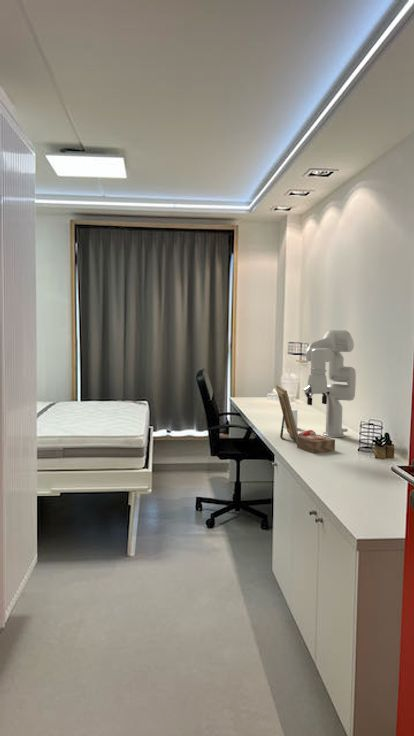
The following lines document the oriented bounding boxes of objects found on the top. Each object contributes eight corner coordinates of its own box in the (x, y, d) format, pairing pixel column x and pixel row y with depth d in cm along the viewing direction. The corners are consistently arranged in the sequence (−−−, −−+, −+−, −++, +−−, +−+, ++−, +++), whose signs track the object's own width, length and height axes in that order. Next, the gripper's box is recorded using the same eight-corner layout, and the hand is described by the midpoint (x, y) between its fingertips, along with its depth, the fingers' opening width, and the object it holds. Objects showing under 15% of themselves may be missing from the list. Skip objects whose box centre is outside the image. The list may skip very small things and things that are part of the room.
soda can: (303, 436, 304) (292, 440, 294) (310, 426, 301) (299, 430, 291) (313, 444, 301) (302, 449, 291) (319, 435, 298) (309, 439, 288)
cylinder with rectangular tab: (299, 427, 344) (300, 409, 343) (292, 429, 338) (292, 410, 337) (288, 425, 350) (288, 407, 350) (280, 427, 344) (280, 409, 343)
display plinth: (317, 445, 293) (318, 433, 292) (334, 450, 280) (335, 438, 280) (297, 447, 287) (297, 436, 286) (313, 453, 274) (313, 441, 274)
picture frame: (300, 444, 294) (301, 390, 292) (282, 444, 294) (283, 390, 292) (290, 433, 327) (291, 384, 324) (274, 432, 326) (275, 384, 324)
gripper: (326, 371, 288) (325, 402, 289) (300, 372, 280) (299, 404, 281) (335, 372, 281) (334, 404, 282) (309, 373, 273) (308, 406, 274)
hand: (317, 404), depth 282 cm, fingers open, 9 cm apart
